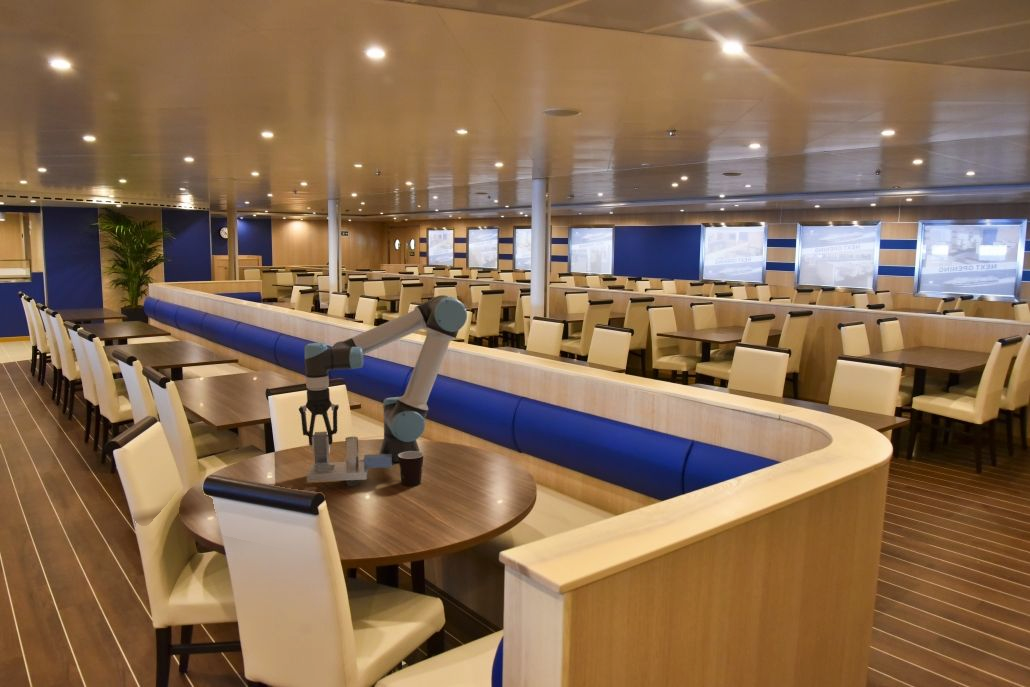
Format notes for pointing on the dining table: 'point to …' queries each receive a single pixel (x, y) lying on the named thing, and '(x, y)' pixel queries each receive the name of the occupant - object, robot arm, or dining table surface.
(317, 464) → the grey fixture base
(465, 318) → the robot arm
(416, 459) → the coffee mug
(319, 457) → the steel pin
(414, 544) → the dining table surface
